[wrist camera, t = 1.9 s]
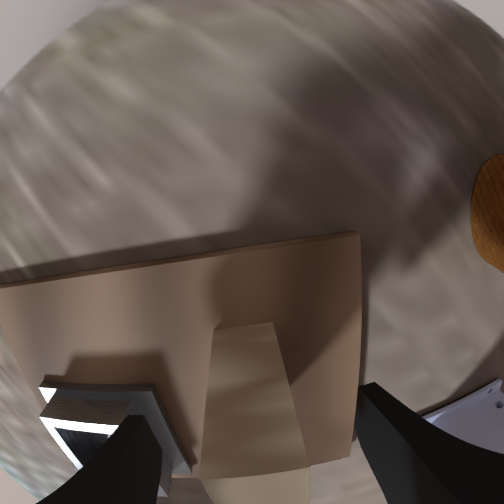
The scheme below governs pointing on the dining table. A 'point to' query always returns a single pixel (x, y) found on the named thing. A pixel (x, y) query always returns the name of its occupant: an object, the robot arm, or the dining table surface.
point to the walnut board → (202, 330)
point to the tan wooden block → (251, 423)
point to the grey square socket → (109, 421)
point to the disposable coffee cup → (489, 212)
